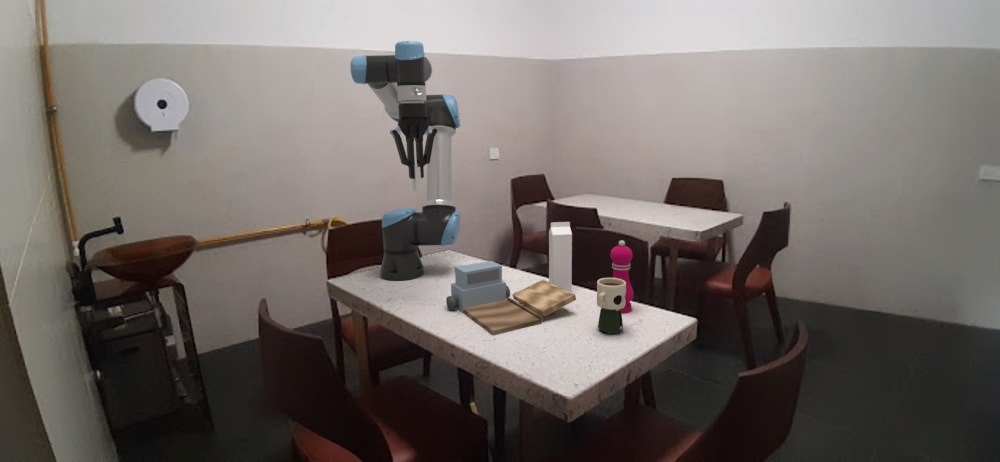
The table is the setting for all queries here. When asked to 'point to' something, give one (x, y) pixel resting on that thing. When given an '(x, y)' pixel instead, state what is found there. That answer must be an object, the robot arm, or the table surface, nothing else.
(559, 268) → the milk
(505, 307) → the flatbed
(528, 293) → the side gate
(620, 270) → the pepper mill
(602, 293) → the character mug
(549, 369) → the table surface
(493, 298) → the cab
